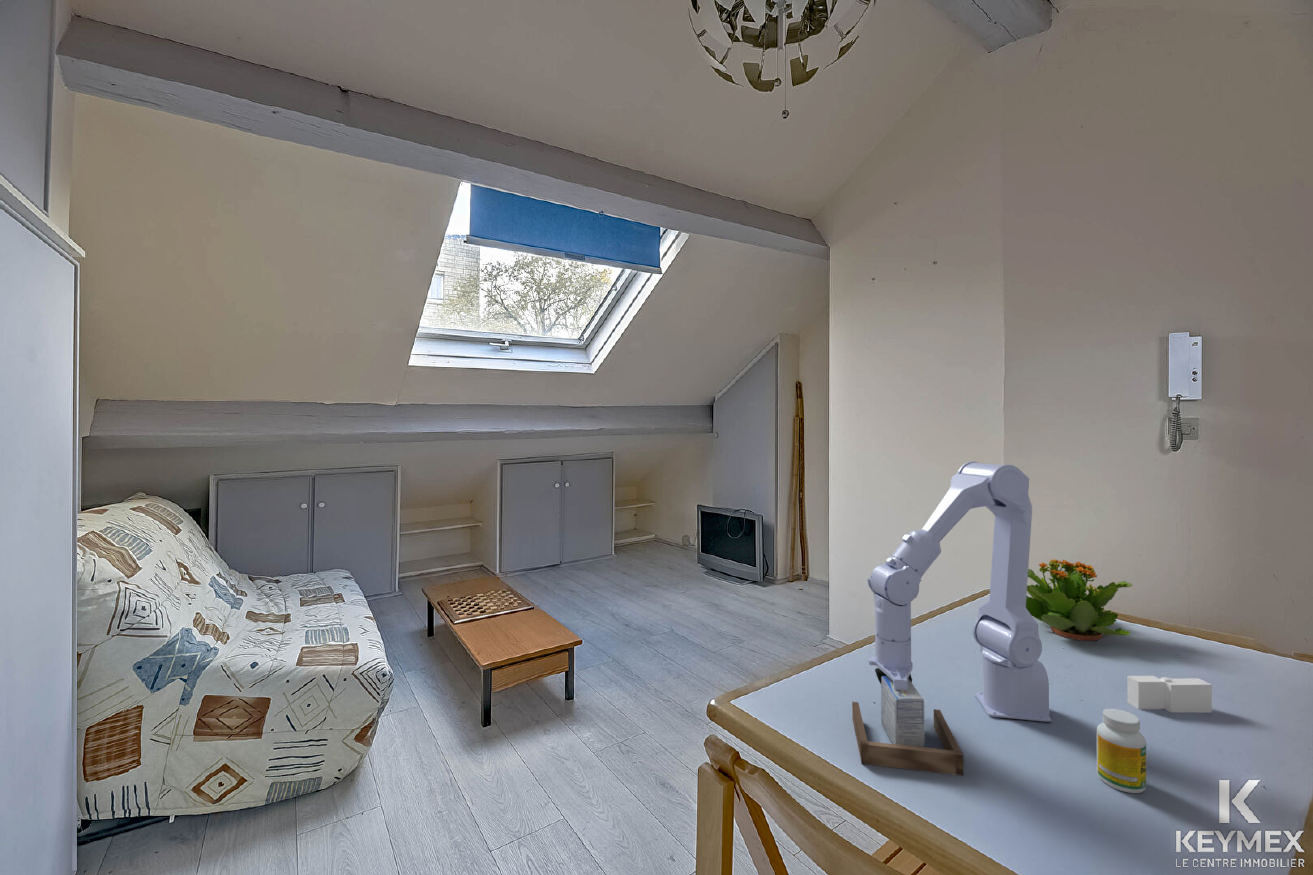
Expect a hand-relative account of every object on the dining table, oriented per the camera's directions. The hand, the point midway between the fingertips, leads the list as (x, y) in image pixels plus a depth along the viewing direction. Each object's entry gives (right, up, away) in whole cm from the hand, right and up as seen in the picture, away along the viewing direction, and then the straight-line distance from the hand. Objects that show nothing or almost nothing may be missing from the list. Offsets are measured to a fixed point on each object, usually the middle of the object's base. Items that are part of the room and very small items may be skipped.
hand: (893, 713), depth 95 cm
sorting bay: (-2, -1, -7) cm, 7 cm away
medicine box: (-1, -1, -6) cm, 6 cm away
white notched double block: (+49, -1, +3) cm, 49 cm away
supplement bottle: (+25, -1, -17) cm, 30 cm away
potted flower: (+58, +1, +35) cm, 68 cm away
